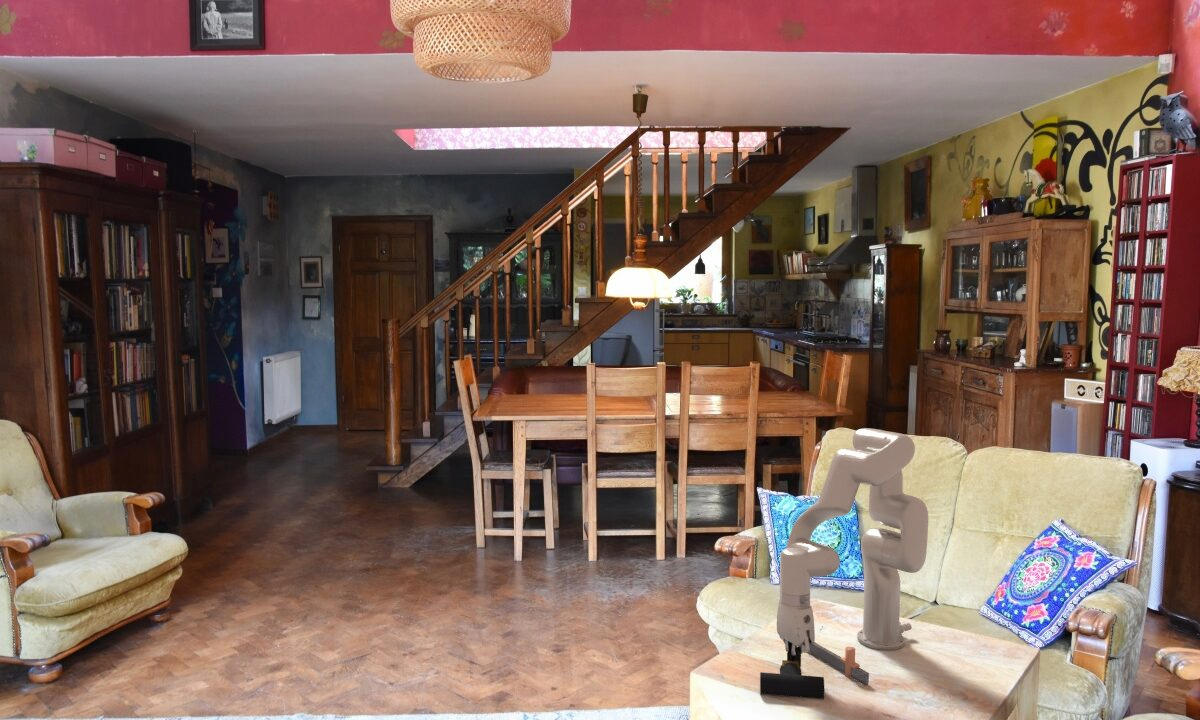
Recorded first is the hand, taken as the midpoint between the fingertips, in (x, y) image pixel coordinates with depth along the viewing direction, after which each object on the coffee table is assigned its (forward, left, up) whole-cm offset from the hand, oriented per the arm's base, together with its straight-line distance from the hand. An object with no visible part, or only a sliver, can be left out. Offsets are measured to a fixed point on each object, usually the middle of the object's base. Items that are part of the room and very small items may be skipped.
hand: (793, 667), depth 217 cm
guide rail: (-12, +1, -2) cm, 12 cm away
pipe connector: (+5, +6, -2) cm, 8 cm away
